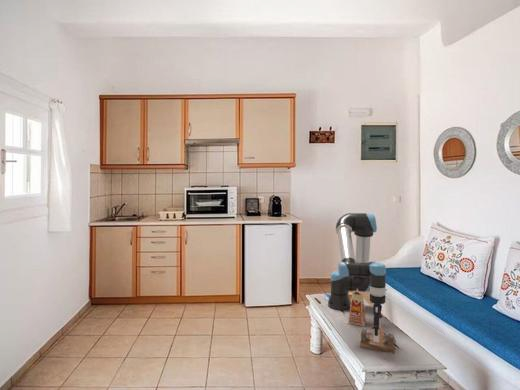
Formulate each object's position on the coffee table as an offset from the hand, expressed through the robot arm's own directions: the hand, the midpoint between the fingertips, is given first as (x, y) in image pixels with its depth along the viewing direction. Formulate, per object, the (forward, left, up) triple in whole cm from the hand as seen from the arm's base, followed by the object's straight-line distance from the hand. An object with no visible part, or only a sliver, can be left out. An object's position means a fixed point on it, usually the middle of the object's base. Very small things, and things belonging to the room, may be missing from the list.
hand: (377, 335), depth 171 cm
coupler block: (0, 0, -3) cm, 3 cm away
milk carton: (-26, -13, -5) cm, 29 cm away
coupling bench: (-2, 0, -5) cm, 5 cm away
